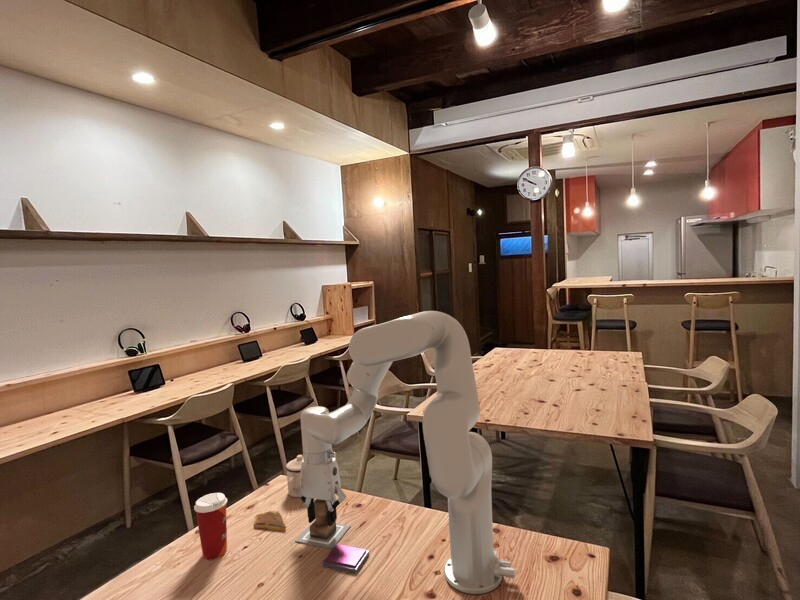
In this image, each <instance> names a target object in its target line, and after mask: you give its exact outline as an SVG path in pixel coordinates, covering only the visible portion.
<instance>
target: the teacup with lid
mask: <svg viewBox="0 0 800 600" xmlns="http://www.w3.org/2000/svg"><path fill="white" fill-rule="evenodd" d="M302 460H303V454H298V455H297V456H296V458H294V459H292V460H290V461H288V463H286V465H285V470H286V478H287V480H286V481H287V491H288V495H289V496H290V497H293V498H300V497H299V496H298V495H297V494H296V490H297V489H298V488H299V486H300V473H301V464H302Z"/></svg>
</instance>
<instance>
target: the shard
mask: <svg viewBox="0 0 800 600" xmlns="http://www.w3.org/2000/svg"><path fill="white" fill-rule="evenodd" d="M254 519H255V521H254V523H253V528H255V529H257V528H258V529H266V528H267V529H266V530H271V529H273V531H279V530H287V529H286V528H287V526H286V524H285V523H284V519H283V517H282V514H281V513H280V512H279V510H269V511H266V512H263V513H260V514H259V513H258V514H256V515H254ZM261 527H262V528H261Z"/></svg>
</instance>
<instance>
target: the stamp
mask: <svg viewBox="0 0 800 600" xmlns="http://www.w3.org/2000/svg"><path fill="white" fill-rule="evenodd" d="M314 506H315V520H314V521H313V522H312V523H313V524H312V523H311V524H312V525H311V524H310V525H311V526H310V525H309V526H310V537H313V538H319V539H324V540H327V539H328V538H329V537H330V536H331V535H332V533H333V532H334V531H335V530H336V523H337V520H336V521H335V522H334V523H333V524H332V526H328V517H327V512H328V510H329V508H328V505H327V502H326V500H320V499H315V500H314Z"/></svg>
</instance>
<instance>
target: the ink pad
mask: <svg viewBox="0 0 800 600" xmlns="http://www.w3.org/2000/svg"><path fill="white" fill-rule="evenodd" d="M369 555H370V551H369V550H367V549H364V548H360V547H355V546H349V545H344V544H338V543H337V544H336V545H335V546H334V547H333V549H331V550H330V552H329V553H328V554H327V555H326V556H325V558H324V559H323V560H322V561H321V567H323V568H329V569H333V570H337V571H342V572H347V573H352V574H358V572H359V570H360V569H361V567H362V566H363V565H364V563H365V562H366V560H367V559H368V557H369Z"/></svg>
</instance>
